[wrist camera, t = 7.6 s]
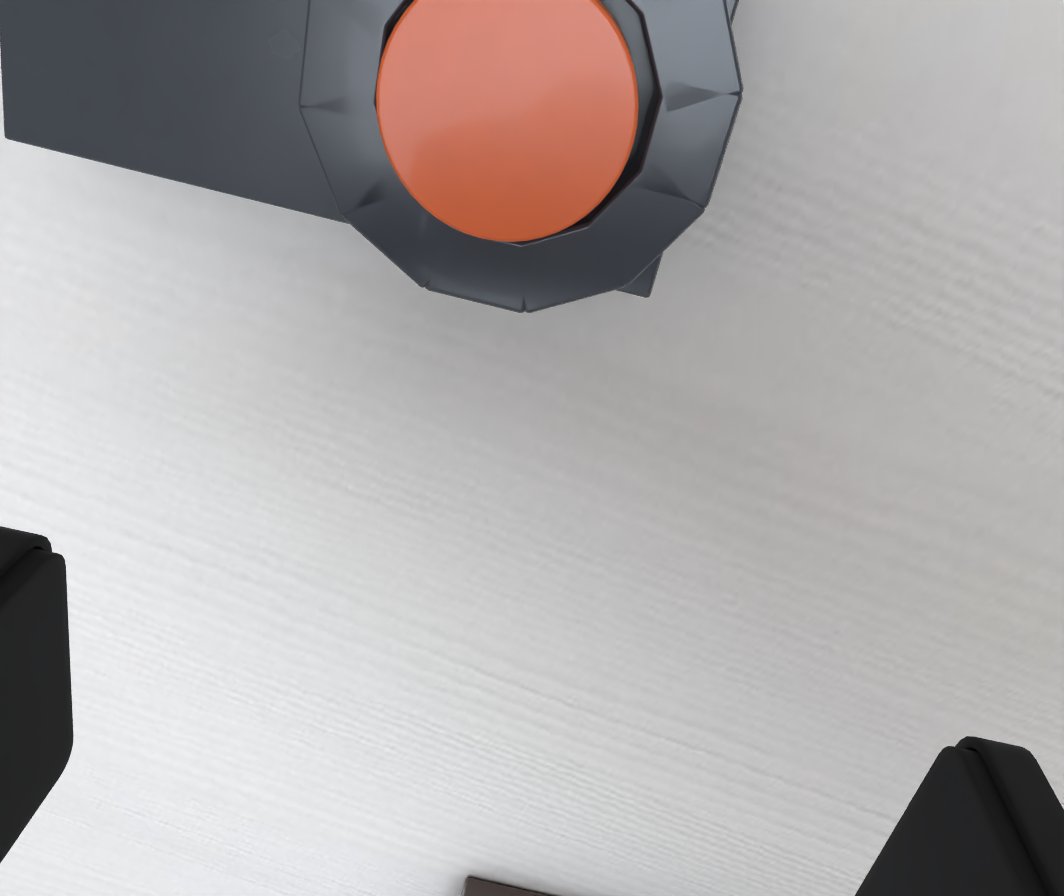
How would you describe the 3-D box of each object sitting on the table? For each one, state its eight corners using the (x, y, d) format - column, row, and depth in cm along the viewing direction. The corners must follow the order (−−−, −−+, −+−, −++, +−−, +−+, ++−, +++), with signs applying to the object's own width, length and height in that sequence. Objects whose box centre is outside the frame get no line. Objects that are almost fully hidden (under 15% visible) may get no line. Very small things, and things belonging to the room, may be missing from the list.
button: (666, -1, 13) (672, -1, 11) (601, 238, 15) (599, 268, 13) (422, -65, 13) (396, -71, 11) (386, 185, 15) (358, 208, 13)
